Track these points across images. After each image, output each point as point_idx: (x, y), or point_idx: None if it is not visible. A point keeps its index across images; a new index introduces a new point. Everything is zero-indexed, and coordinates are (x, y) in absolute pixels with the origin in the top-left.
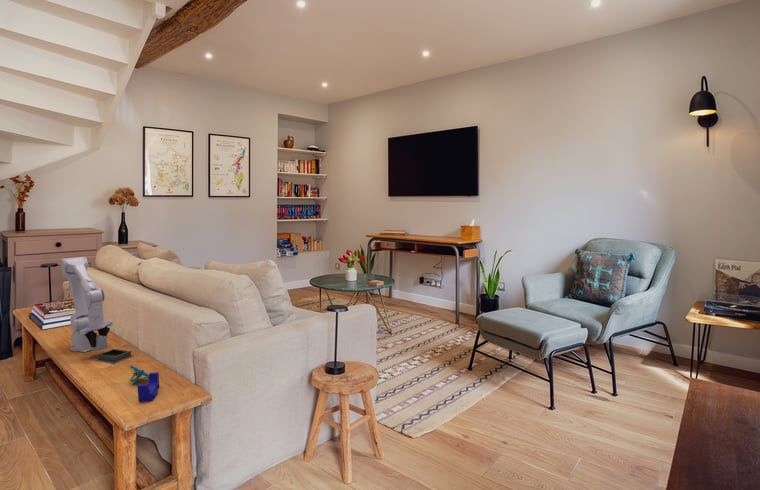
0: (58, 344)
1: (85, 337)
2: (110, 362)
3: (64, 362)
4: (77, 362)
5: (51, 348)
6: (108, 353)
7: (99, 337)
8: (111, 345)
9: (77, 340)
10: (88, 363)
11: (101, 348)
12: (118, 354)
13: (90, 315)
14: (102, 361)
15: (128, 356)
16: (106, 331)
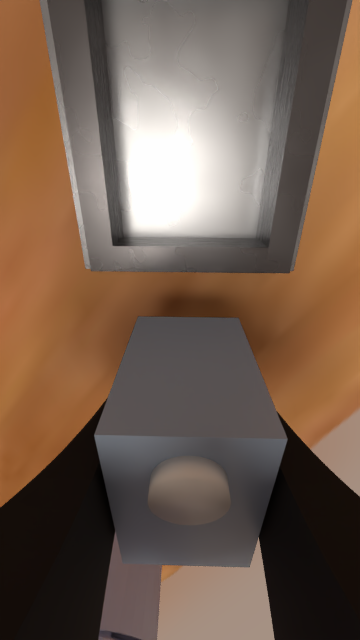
0: None
1: (133, 571)
2: (348, 5)
3: (336, 426)
4: (332, 363)
5: (179, 566)
6: (182, 242)
7: (222, 472)
8: (9, 417)
9: (161, 566)
10: (351, 272)
11: (212, 325)
12: (116, 165)
13: None
14: (311, 172)
15: None
16: (16, 571)
